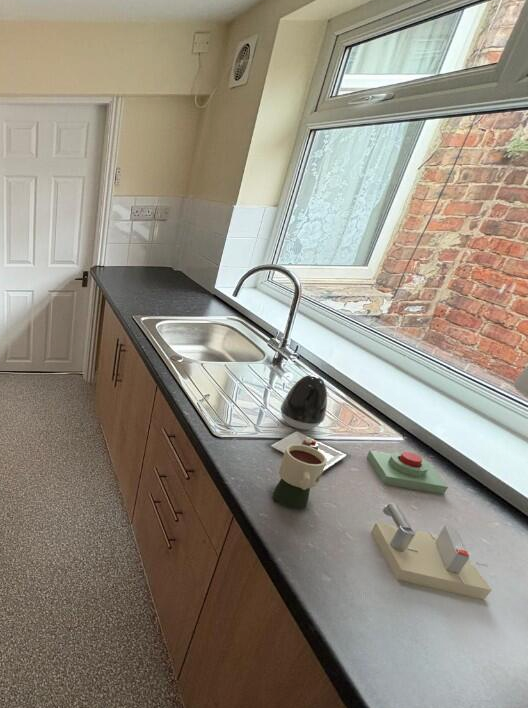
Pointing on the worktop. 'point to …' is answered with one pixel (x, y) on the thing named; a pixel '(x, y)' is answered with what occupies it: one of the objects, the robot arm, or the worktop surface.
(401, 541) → the spout
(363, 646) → the worktop surface
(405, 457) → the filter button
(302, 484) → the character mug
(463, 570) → the tap block
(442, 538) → the tap handle
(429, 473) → the green button base
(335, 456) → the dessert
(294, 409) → the black egg shaped dome
